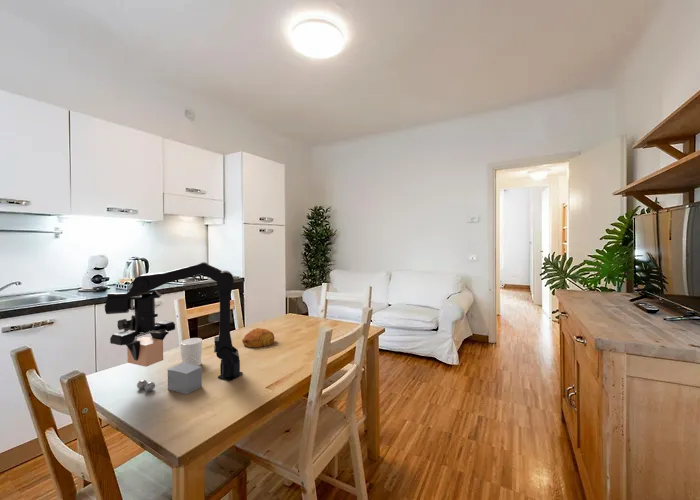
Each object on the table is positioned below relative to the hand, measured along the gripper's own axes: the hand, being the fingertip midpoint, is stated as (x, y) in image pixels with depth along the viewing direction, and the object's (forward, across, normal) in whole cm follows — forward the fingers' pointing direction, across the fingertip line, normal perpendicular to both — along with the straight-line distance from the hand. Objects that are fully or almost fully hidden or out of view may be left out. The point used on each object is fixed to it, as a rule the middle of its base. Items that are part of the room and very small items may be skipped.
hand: (145, 356), depth 103 cm
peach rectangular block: (+2, 0, 0) cm, 2 cm away
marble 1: (+12, 0, -2) cm, 12 cm away
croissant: (+12, -53, +5) cm, 54 cm away
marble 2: (+12, 0, +2) cm, 12 cm away
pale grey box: (+12, -6, +11) cm, 17 cm away
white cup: (+12, -21, -3) cm, 24 cm away
